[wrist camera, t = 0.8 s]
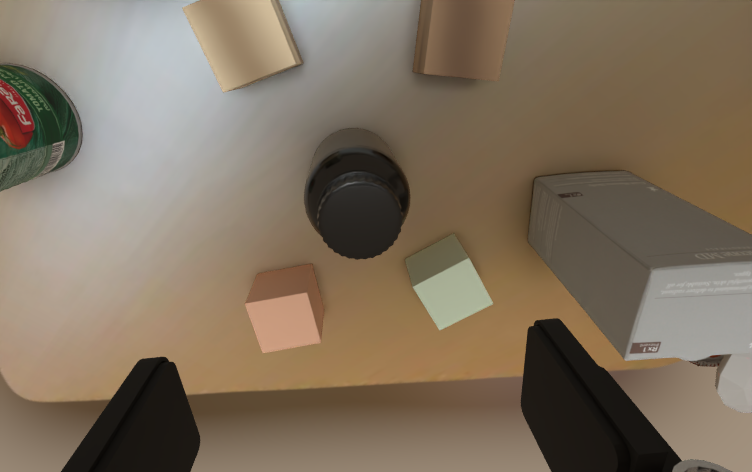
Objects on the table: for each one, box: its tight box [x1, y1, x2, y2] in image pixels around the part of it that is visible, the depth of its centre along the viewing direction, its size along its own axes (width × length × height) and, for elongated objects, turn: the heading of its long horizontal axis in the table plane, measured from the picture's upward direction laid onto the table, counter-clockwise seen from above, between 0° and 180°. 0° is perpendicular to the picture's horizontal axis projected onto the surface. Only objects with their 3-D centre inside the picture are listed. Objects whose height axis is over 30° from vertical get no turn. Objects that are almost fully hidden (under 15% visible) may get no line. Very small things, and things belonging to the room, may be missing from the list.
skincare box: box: [528, 171, 752, 361], centre depth 29 cm, size 8×7×16 cm
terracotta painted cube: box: [245, 264, 324, 353], centre depth 35 cm, size 5×5×5 cm
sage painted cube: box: [405, 233, 493, 330], centre depth 35 cm, size 5×5×5 cm
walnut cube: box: [413, 0, 515, 81], centre depth 28 cm, size 5×5×5 cm
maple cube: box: [182, 0, 303, 93], centre depth 27 cm, size 5×5×5 cm
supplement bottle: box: [304, 128, 410, 259], centre depth 28 cm, size 7×7×12 cm
